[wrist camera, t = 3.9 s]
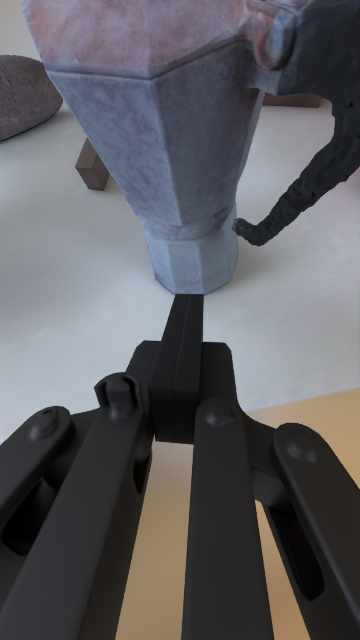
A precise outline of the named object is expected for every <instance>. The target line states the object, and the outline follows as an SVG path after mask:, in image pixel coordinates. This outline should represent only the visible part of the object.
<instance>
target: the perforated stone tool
mask: <svg viewBox="0 0 360 640" xmlns="http://www.w3.org/2000/svg"><path fill="white" fill-rule="evenodd" d="M62 103H63V98H62V96H61V95H60V93H59V92H58V90H57V89H56V87H55V86H54V84H53V83H52V81H51V79H50V78H49V76H48V75H47V72H46V70H45V67H44V65H43V63H42V62H40V61H37V60H35V59H31V58H28V57H23V56H16V55H12V56H10V55H0V140H3V139H6V138H9V137H11V136H13V135H16V134H18V133H20V132H23V131H26V130H28V129H30V128H31V127H34V126H36V125H38V124H40V123H42V122H44V121H46V120H47V119H49V118H50V117H52V116H53V115H54V114H55V113H56V112H57V111H58V110H59V109H60V107H61V106H62Z"/></svg>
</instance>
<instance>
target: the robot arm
mask: <svg viewBox="0 0 360 640" xmlns="http://www.w3.org/2000/svg"><path fill="white" fill-rule="evenodd" d="M203 305H204V294H176V295H175V298H174V301H173V304H172V307H171V311H170V314H169V317H168V320H167V324H166V327H165V330H164V333H163V336H162V340H161V341H147V340H144V341H143V342H142V343H141V344H140V345H138V346H137V347H136V349H135V352H134V354H133V357H132V358H131V360H130V363H129V365H128V367H127V369H126V372H120V373H114V374H111V375H108V376H106V377H105V378H103V379H102V380H100V381H99V382H98V383H97V384H96V386H95V387H94V389H95V392H96V395H97V399H98V402H99V405H100V407H99V408H97V409H94V410H91V411H87V412H82V413H77V414H73V415H70V413H69V410H67V409H66V408H64V407H61V406H52V407H47V408H45V409H43V410H40V411H38V412H36V413H35V414H34V415H32V416H31V417H30V418H29V419H27V420H26V421H25V422H24V423H23V424H22V425H21V426H20V427H19V428H18V429H17V430H16V431H15V432H14V433H13V434H12V435H11V436H10V437H9V438H8V439H7V440H5V441H4V442H3V443H2V444H1V445H0V640H115V636H116V632H117V627H118V622H119V616H120V612H121V607H122V603H123V598H124V593H125V588H126V583H127V578H128V574H129V569H130V564H131V559H132V554H133V549H134V544H135V540H136V535H137V530H138V525H139V520H140V515H141V511H142V506H143V500H144V495H145V491H146V486H147V482H148V477H149V472H150V467H151V462H152V447H151V446H152V442H153V437H154V435H155V440H156V441H159V442H170V443H181V444H192V445H194V449H193V464H192V479H191V495H190V510H189V526H188V541H187V557H186V573H185V588H184V603H183V604H184V605H183V619H182V634H181V640H274V634H273V627H272V619H271V612H270V605H269V599H268V591H267V584H266V577H265V570H264V563H263V555H262V548H261V541H260V534H259V527H258V520H257V512H256V506H255V500H257V501H259V502H261V503H262V506H263V509H264V512H265V514H266V517H267V520H268V523H269V526H270V528H271V531H272V534H273V537H274V540H275V542H276V545H277V548H278V551H279V553H280V556H281V559H282V562H283V564H284V567H285V570H286V573H287V576H288V578H289V581H290V584H291V587H292V589H293V592H294V595H295V598H296V601H297V603H298V606H299V609H300V612H301V614H302V617H303V620H304V623H305V625H306V628H307V631H308V634H309V636H310V639H311V640H360V489H359V488H358V486H357V485H356V483H355V482H354V480H353V479H352V478H351V476H350V475H349V473H348V472H347V470H346V469H345V468H344V466H343V465H342V463H341V462H340V461H339V459H338V458H337V456H336V455H335V453H334V452H333V451H332V449H331V448H330V446H329V445H328V443H327V442H326V441H325V440H324V439H323V438H322V437H321V436H320V435H319V434H318V433H317V432H315V431H314V430H312V429H311V428H309V427H307V426H304V425H302V424H299V423H285V424H283V425H280V426H279V427H278V428H277V429H276V428H273V427H270V426H267V425H265V424H262V423H259V422H257V421H255V420H253V419H252V418H250V417H249V416H248V415H246V414H245V412H244V411H243V410H242V409H241V407H240V405H239V403H238V400H237V393H236V385H235V377H234V369H233V361H232V354H231V350H230V348H229V347H228V346H227V344H226V343H220V342H203Z"/></svg>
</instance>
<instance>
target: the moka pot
mask: <svg viewBox="0 0 360 640" xmlns="http://www.w3.org/2000/svg"><path fill="white" fill-rule="evenodd" d="M22 6H23V7H22V8H23V15H24V18H25V20H26V23H27V26H28V28H29V30H30V33H31V35H32V37H33V39H34V42H35V44H36V47H37V49H38V52H39V54H40V57H41V60H42V62H43V65H44V67H45V70H46V72H47V75H48V76H49V78H50V79H51V81H52V83H53V84H54V86H55V87H56V89H57V90H58V92H59V93H60V95H61V96H62V98H63V100H64V101H65V103H66V104H67V106H68V108H69V109H70V111H71V112H72V114H73V115H74V117H75V119H76V120H77V122H78V123H79V125H80V127H81V128H82V130H83V131H84V133H85V134H86V136H87V138H88V139H89V141H90V142H91V144H92V145H93V147H94V148H95V150H96V152H97V153H98V155H99V156H100V158H101V159H102V161H103V163H104V164H105V166H106V168H107V169H108V171H109V172H110V174H111V176H112V177H113V179H114V180H115V182H116V184H117V185H118V187H119V188H120V190H121V192H122V193H123V195H124V196H125V198H126V200H127V201H128V203H129V204H130V206H131V208H132V209H133V211H134V213H135V214H136V215H137V216H138V217H139V218H140V220H141V222H142V224H143V228H144V232H145V236H146V241H147V245H148V249H149V253H150V257H151V262H152V266H153V270H154V274H155V278H156V280H157V281H158V282H159V283H160V284H162V285H163V286H164V287H165V288H167V289H168V290H169V291H170V292H172V293H174V294H204V295H207V294H209V293H211V292H213V291H215V290H217V289H218V288H220V287H221V286H223V285H224V284H226V283H228V282H229V280H230V278H231V276H232V273H233V271H234V268H235V266H236V262H237V258H238V245H237V235H239V236H242V237H243V238H244V239H245V240H248V242H249V243H250V244H251V245H256V246H258V247H259V246H262V245H264V244H265V243H266V242H268V241H269V240H270V239H272V238H273V237H274V236H276V235H277V234H278V233H279V232H280V231H281V230H283V228H284V227H285V226H288V225H289V224H290V223H291V222H293V221H294V220H295V219H296V218H297V217H298V215H299V214H300V212H304V211H305V210H306V209H307V208H309V207H311V206H313V205H314V204H315V203H316V202H317V201H318V200H319V199H320V198H321V197H322V196H323V195H324V194H326V193H327V192H328V191H329V190H331V189H332V188H334V187H335V186H336V185H337V184H338V183H339V182H344V181H347V179H348V178H349V176H350V175H351V174H353V173H354V172H355V171H356V170H357V169H358V168H359V166H360V0H25V1H24V2H23V3H22ZM265 92H267V93H269V94H271V95H273V96H292V95H298V94H304V93H311V94H316V95H319V96H321V97H323V98H325V99H327V100H330V102H331V103H332V116H334V117H335V127H334V135H333V137H332V139H331V142H330V143H328V144H327V145H326V146H325V147H324V148H323V149H321V150H320V151H319V152H317V153H316V154H315V156H314V157H313V159H312V160H311V162H310V163H309V165H308V166H307V167H306V168H305V169H304V170H303V171H302V172H301V175H300V177H299V178H298V179H296V180H295V181H294V182H293V183H292V184H291V185H290V186H289V188H288V190H287V192H285V193H284V194H283V195H282V196H281V197H280V198H279V201H278V202H277V203H276V205H275V206H274V207H273V209H272V210H271V212H270V213H269V214H270V215H268V216H267V217H266V218H265V219H264V220H262V221H261V222H260V223H259V224H258V225H252V224H250V223H249V222H247V221H246V220H244V219H242V218H238V219H237V216H236V202H235V196H236V190H237V184H238V182H239V179H240V177H241V175H242V172H243V169H244V167H245V165H246V161H247V157H248V154H249V150H250V146H251V143H252V139H253V135H254V132H255V128H256V125H257V121H258V118H259V114H260V110H261V106H262V103H263V99H264V96H265Z"/></svg>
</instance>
